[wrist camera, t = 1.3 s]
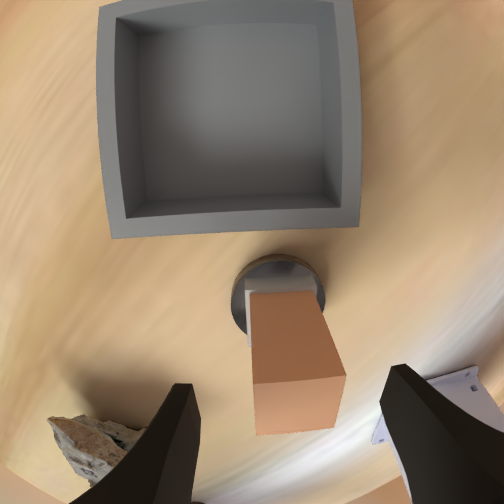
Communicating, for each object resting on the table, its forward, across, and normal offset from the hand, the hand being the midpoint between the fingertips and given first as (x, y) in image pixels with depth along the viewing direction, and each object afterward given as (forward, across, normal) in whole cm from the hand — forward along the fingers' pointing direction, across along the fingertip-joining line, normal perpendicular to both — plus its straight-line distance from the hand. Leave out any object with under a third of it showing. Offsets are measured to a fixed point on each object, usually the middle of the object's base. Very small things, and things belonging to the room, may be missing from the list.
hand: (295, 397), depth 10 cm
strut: (+6, 0, 0) cm, 7 cm away
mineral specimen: (+8, +14, +13) cm, 20 cm away
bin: (+8, +2, -10) cm, 13 cm away
